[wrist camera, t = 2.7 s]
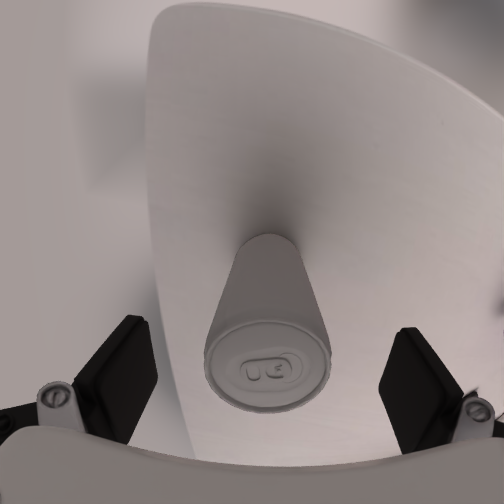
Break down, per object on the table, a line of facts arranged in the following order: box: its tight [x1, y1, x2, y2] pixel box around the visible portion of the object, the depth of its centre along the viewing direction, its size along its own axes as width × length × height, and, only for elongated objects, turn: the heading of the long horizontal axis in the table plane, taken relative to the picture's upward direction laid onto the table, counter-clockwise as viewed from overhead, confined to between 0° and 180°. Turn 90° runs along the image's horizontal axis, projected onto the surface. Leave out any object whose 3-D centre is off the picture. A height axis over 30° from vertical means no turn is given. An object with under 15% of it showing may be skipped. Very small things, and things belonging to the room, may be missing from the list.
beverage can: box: [204, 234, 332, 414], centre depth 15 cm, size 5×5×12 cm
